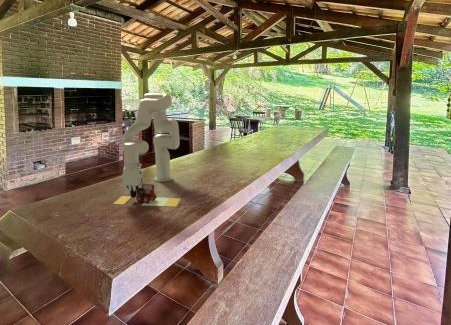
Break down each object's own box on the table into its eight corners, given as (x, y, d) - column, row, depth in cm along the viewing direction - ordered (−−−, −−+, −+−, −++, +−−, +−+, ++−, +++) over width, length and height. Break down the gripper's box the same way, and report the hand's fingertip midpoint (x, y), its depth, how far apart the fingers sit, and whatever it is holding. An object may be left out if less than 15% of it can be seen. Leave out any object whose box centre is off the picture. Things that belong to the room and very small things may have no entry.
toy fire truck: (142, 196, 169) (141, 179, 166) (159, 200, 163) (157, 182, 161) (133, 200, 163) (132, 183, 161) (150, 204, 157) (148, 186, 155)
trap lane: (121, 196, 170) (121, 196, 170) (181, 198, 168) (181, 198, 167) (112, 204, 158) (112, 203, 158) (176, 206, 156) (176, 206, 156)
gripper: (147, 164, 161) (148, 195, 165) (121, 163, 162) (123, 194, 166) (142, 167, 154) (144, 200, 158) (115, 166, 155) (117, 198, 159)
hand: (133, 197), depth 162 cm, fingers closed
